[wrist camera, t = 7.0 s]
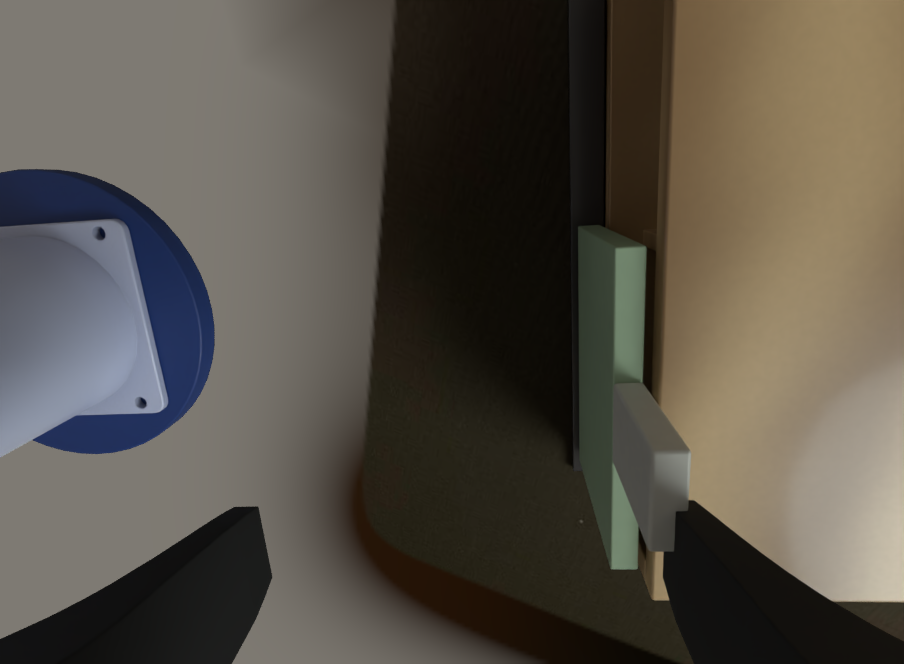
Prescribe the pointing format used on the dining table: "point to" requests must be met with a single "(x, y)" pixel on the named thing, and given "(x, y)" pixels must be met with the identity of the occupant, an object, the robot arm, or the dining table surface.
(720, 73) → the cabinet
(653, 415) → the door
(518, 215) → the dining table surface
